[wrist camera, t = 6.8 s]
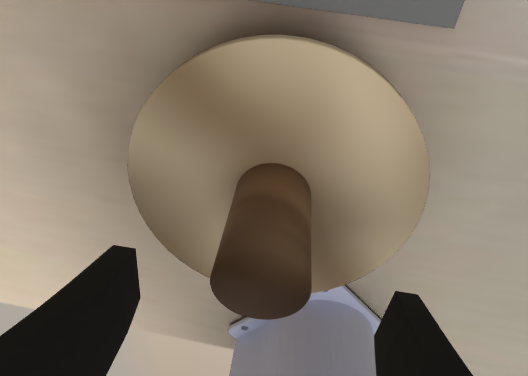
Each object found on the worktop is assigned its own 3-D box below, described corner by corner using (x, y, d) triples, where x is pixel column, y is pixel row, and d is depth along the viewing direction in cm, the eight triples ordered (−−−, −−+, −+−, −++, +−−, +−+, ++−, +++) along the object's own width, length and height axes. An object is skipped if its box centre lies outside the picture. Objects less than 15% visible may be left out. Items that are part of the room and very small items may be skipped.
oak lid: (265, 311, 19) (253, 421, 15) (82, 166, 15) (-9, 258, 11) (479, 202, 14) (555, 318, 10) (291, -54, 10) (277, -47, 6)
